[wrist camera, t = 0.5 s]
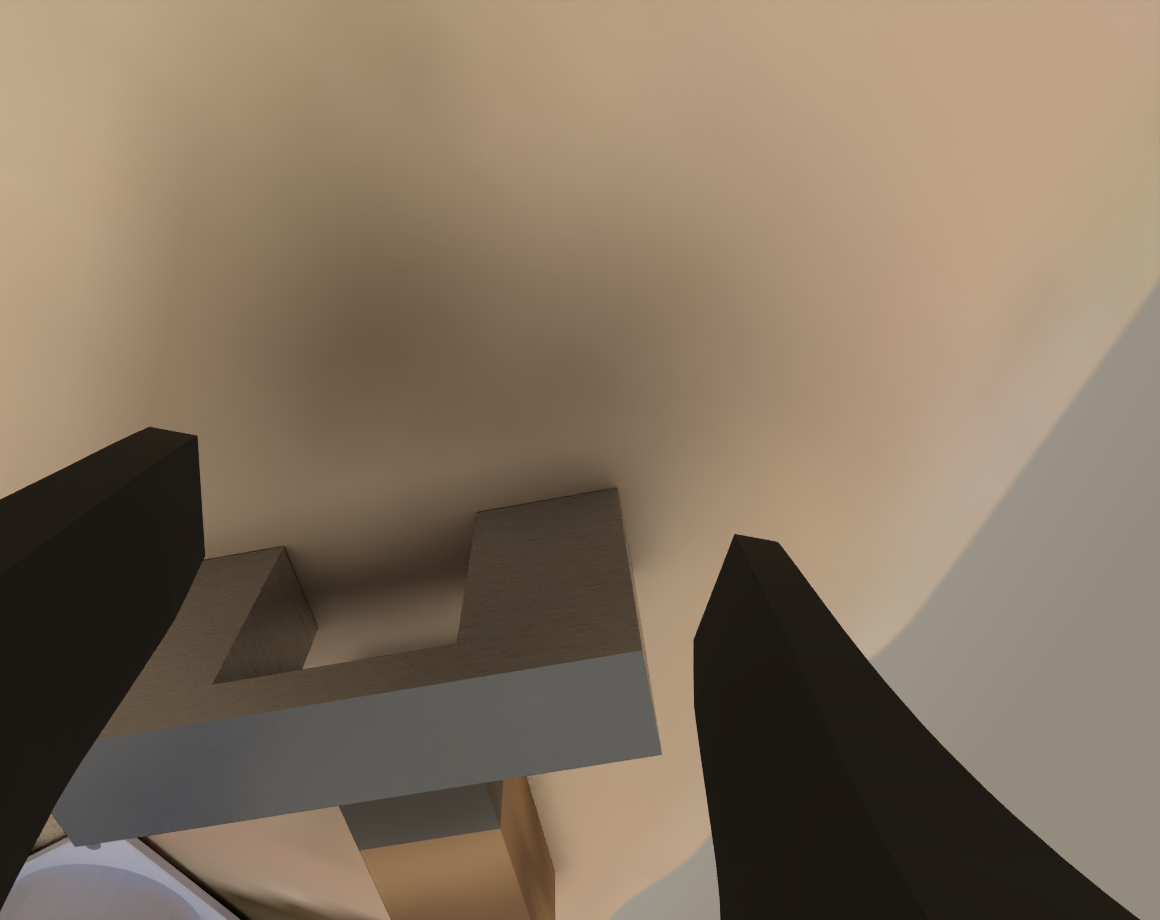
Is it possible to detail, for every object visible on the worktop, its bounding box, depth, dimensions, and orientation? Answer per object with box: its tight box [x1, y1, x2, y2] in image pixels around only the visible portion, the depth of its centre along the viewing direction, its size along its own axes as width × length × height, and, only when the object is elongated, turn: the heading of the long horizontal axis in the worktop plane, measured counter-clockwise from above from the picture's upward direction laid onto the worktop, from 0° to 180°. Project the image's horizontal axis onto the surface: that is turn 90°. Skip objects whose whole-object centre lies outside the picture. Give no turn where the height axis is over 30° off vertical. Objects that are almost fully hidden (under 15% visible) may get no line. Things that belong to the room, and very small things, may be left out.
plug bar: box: [339, 776, 555, 920], centre depth 26 cm, size 11×4×4 cm, turn 10°
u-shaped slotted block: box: [51, 488, 662, 847], centre depth 21 cm, size 3×14×7 cm, turn 100°
